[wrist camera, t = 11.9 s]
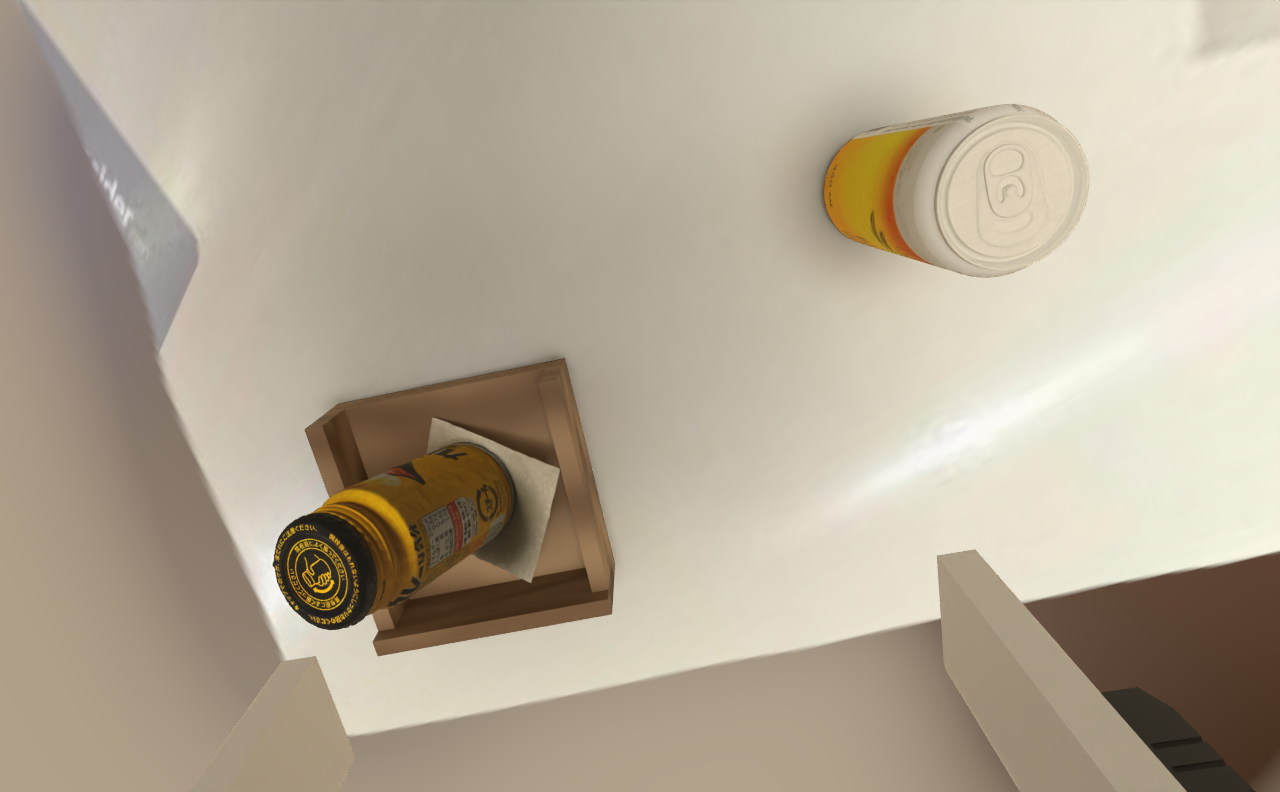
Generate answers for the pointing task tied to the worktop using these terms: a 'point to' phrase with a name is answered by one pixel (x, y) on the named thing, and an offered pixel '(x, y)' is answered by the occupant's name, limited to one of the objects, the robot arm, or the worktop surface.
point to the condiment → (416, 528)
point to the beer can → (962, 189)
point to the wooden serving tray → (473, 589)
